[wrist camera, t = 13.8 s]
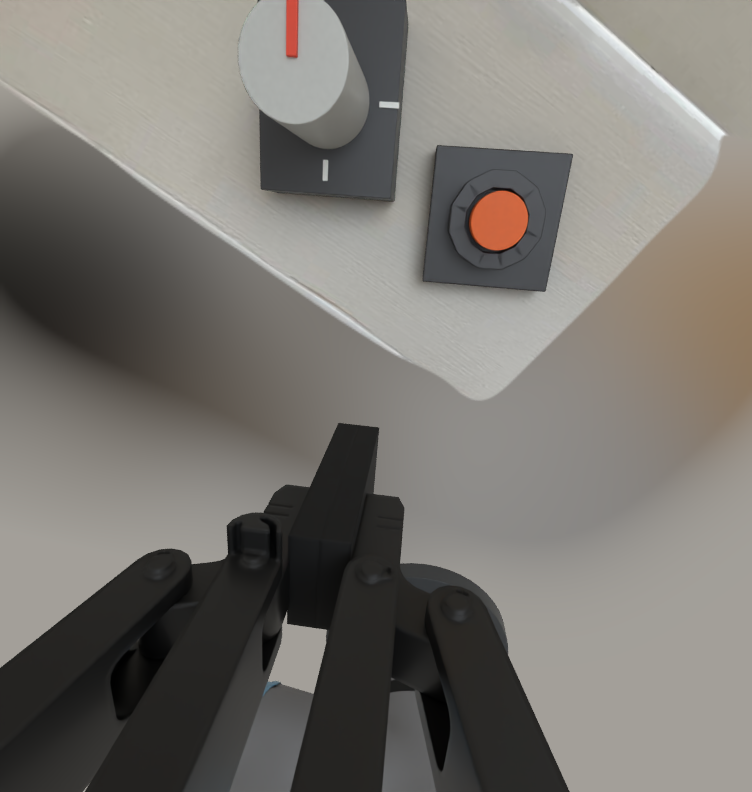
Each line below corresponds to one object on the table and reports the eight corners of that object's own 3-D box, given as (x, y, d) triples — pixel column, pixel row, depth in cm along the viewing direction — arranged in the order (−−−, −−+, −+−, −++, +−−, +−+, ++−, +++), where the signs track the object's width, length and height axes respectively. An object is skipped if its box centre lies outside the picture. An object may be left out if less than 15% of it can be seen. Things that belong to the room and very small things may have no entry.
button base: (539, 288, 39) (551, 295, 35) (422, 278, 40) (422, 284, 36) (565, 157, 36) (581, 150, 32) (436, 149, 36) (437, 140, 33)
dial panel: (395, 201, 38) (391, 198, 34) (275, 192, 39) (258, 189, 35) (409, 24, 34) (407, -2, 30) (274, 18, 34) (254, -8, 30)
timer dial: (366, 152, 33) (344, 127, 25) (285, 146, 34) (236, 119, 25) (372, 53, 31) (351, -13, 22) (286, 48, 32) (233, -19, 23)
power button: (518, 251, 35) (522, 252, 33) (465, 246, 35) (467, 248, 34) (528, 194, 34) (533, 192, 32) (473, 190, 34) (475, 188, 32)
